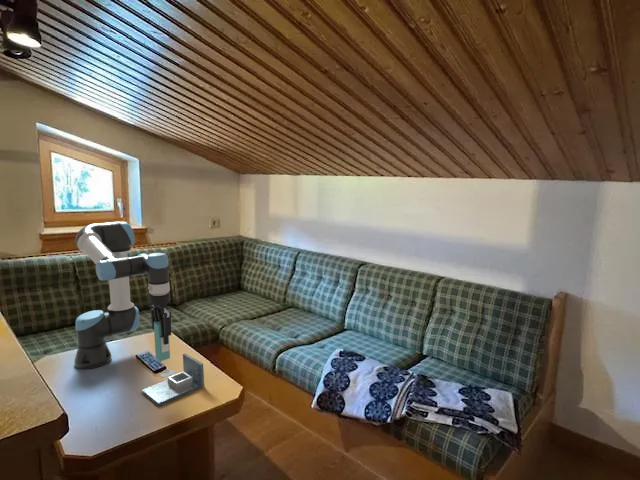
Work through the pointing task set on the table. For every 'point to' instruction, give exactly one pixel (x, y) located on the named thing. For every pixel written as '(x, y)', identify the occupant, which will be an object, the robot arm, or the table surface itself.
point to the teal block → (159, 343)
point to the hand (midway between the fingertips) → (162, 349)
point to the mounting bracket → (167, 373)
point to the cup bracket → (178, 383)
